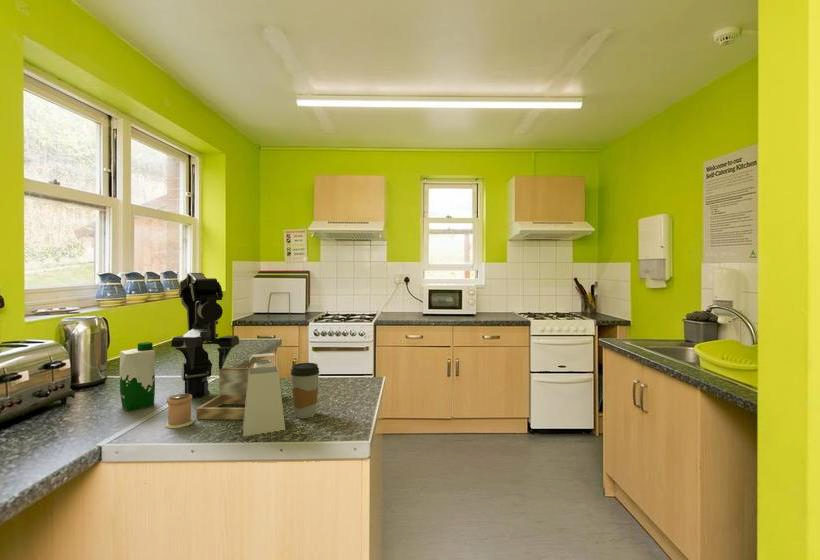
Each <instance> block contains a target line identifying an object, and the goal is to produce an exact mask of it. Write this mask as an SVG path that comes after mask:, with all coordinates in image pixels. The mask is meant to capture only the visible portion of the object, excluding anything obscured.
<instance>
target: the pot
mask: <svg viewBox="0 0 820 560" xmlns="http://www.w3.org/2000/svg"><path fill="white" fill-rule="evenodd" d="M192 400H193V398H192V395H191V394H185V393H178V394H173V395H170V396H168V397H166V404H167V414H168V416H167V417H168V418H167V422H168V424H169V425H182V424H186V423H188V422H190V421H191V418H192Z"/></svg>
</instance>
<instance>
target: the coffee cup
mask: <svg viewBox="0 0 820 560" xmlns="http://www.w3.org/2000/svg"><path fill="white" fill-rule="evenodd" d="M318 366H319V365H318V363H315V362H302V363H301V362H300V363H299V362H298V363H296V364H293V365H292V366H291V367H292V368H291V369H290V375H291V386H292V388H291V390H292V391H291V392H292V404H293V405H292V406H293V414H294V417H295V418H296V417H297V419H300V418H301V420H302V419H303V420H305V419H311V418H313V417H315V416H314V415H316V413H317V404H318V393H319V387H318V385H319V373H320V368H319V367H318ZM310 417H311V418H310Z"/></svg>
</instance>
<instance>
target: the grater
mask: <svg viewBox="0 0 820 560" xmlns="http://www.w3.org/2000/svg"><path fill="white" fill-rule="evenodd" d="M270 356H271V357H272V356H274V357H276V365H275V366H274V365H273V367H261V368H254V367H249V368H250V369H249V373H248V383H247V392H246V401H245V404H244V408H245V411H244V419H242V420H243V422H242V424H243V426H242V427H243V428H242V432H243V433H242V434H243V437H251V436H256V435H255V434H257V435H262V434H261V433H264V434H268V433H267V432H271V433H275V432H274V431H277V432H281V431H280V430H284V431H286V425H285V424H286V423H285V417H284V407H283V400H282V399H283V398H282V391H281V381H280V372H279V358H278V356H277V354H275V353H274V352H270V353H269V352H268V353H253V354H252V355H250V357H249V358H248V362H250V361H252V359H253V358H258V357H259V358H260V357H270ZM250 435H251V436H250Z"/></svg>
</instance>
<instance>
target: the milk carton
mask: <svg viewBox="0 0 820 560" xmlns="http://www.w3.org/2000/svg"><path fill="white" fill-rule="evenodd" d="M119 355H120V356H119V396H120V402H121V406H122V408H123V409H124V410H126V411H127V412H132V411H136V410H142V409H145V408H150V407H154V406H155V393H156V377H155V376H156V371H155V370H156V369H155V366H156V362H155V361H156V350H155V349H154V348H153V342H149V341H147V342H139V343H137V348H131V349H126V350H120V352H119Z"/></svg>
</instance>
